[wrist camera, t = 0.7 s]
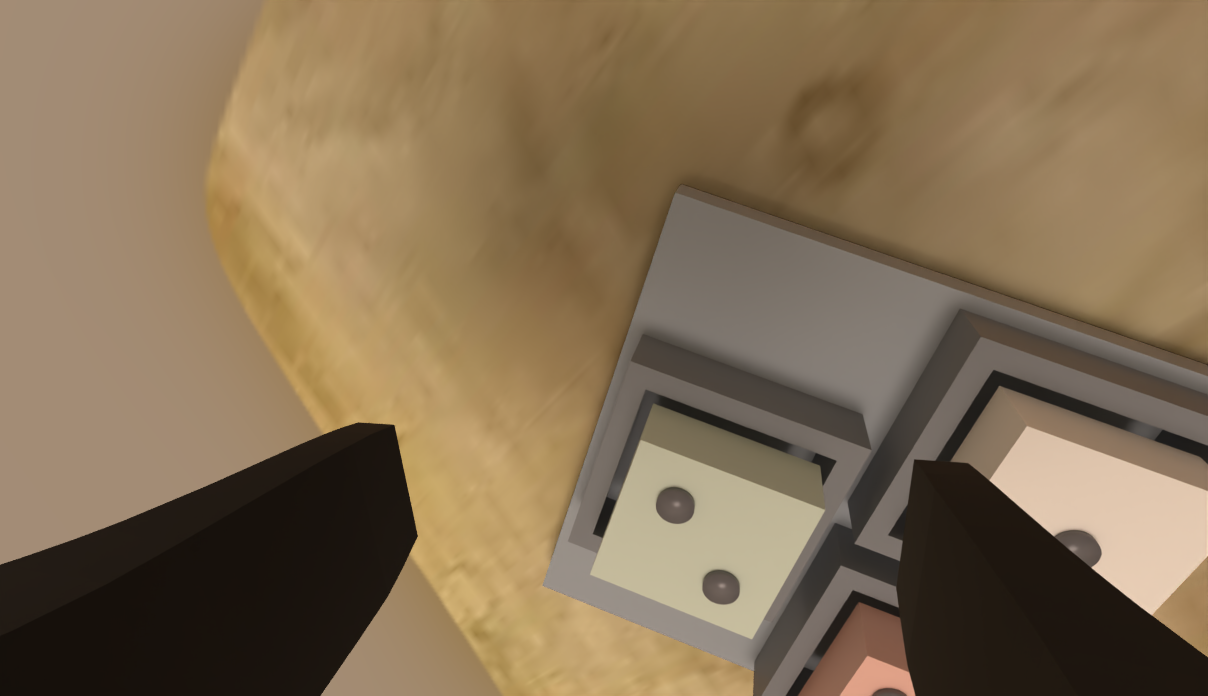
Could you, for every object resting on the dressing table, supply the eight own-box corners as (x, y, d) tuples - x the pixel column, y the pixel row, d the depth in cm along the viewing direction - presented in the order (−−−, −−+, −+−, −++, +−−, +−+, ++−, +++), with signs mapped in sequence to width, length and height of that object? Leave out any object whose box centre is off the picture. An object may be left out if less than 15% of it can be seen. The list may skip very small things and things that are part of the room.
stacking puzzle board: (1260, 383, 16) (1356, 447, 14) (965, 726, 23) (991, 817, 20) (680, 183, 18) (664, 207, 15) (552, 561, 24) (524, 626, 21)
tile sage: (820, 465, 17) (825, 515, 15) (753, 588, 19) (751, 645, 17) (653, 403, 17) (639, 444, 15) (605, 530, 19) (587, 580, 17)
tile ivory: (1200, 457, 14) (1260, 513, 13) (1079, 596, 16) (1116, 663, 15) (999, 385, 15) (1031, 431, 13) (905, 531, 17) (921, 587, 15)
